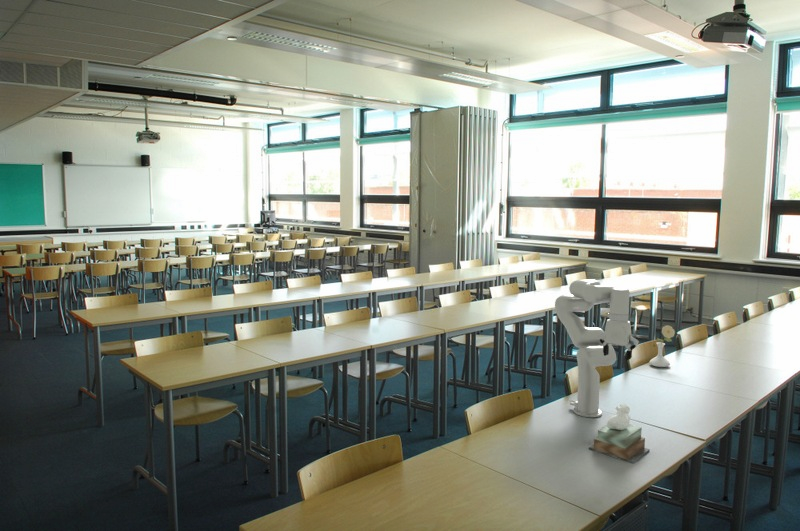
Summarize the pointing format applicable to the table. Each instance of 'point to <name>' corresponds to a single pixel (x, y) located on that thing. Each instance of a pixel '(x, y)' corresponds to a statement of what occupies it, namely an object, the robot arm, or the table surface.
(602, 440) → the sage layered slab
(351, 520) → the table surface
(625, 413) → the bust
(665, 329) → the flower in vase
